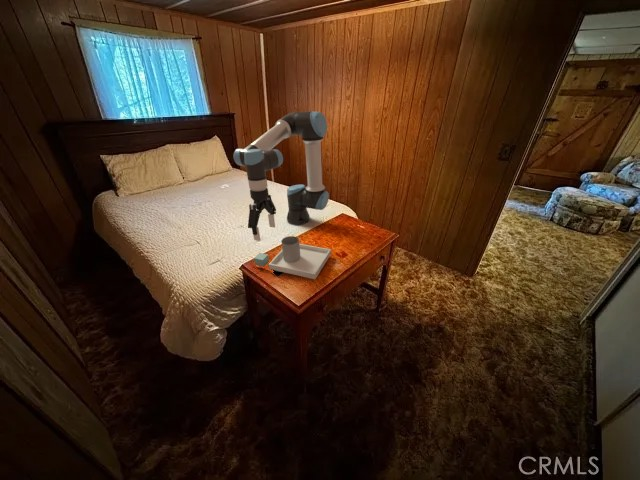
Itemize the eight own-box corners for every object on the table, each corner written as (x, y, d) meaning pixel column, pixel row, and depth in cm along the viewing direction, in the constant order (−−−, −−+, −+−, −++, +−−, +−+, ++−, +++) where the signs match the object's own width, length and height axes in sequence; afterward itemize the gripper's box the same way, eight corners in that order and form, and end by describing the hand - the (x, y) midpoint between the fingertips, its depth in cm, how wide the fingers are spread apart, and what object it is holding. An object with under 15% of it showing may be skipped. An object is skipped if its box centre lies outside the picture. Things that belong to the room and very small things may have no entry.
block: (260, 261, 128) (259, 252, 126) (269, 262, 127) (268, 254, 124) (255, 266, 124) (253, 258, 122) (264, 268, 123) (262, 260, 120)
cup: (297, 263, 121) (296, 245, 116) (281, 261, 123) (279, 244, 118) (302, 253, 129) (300, 236, 124) (286, 252, 130) (284, 235, 125)
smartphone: (257, 266, 125) (278, 277, 117) (257, 264, 125) (278, 276, 116) (269, 259, 130) (289, 270, 122) (269, 258, 130) (289, 268, 121)
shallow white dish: (290, 248, 138) (289, 241, 136) (331, 256, 130) (331, 249, 128) (269, 271, 120) (268, 264, 118) (315, 282, 113) (314, 274, 111)
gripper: (265, 179, 118) (271, 221, 128) (232, 197, 97) (242, 245, 108) (280, 180, 115) (284, 222, 126) (249, 199, 95) (257, 247, 105)
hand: (265, 233), depth 117 cm, fingers open, 13 cm apart
